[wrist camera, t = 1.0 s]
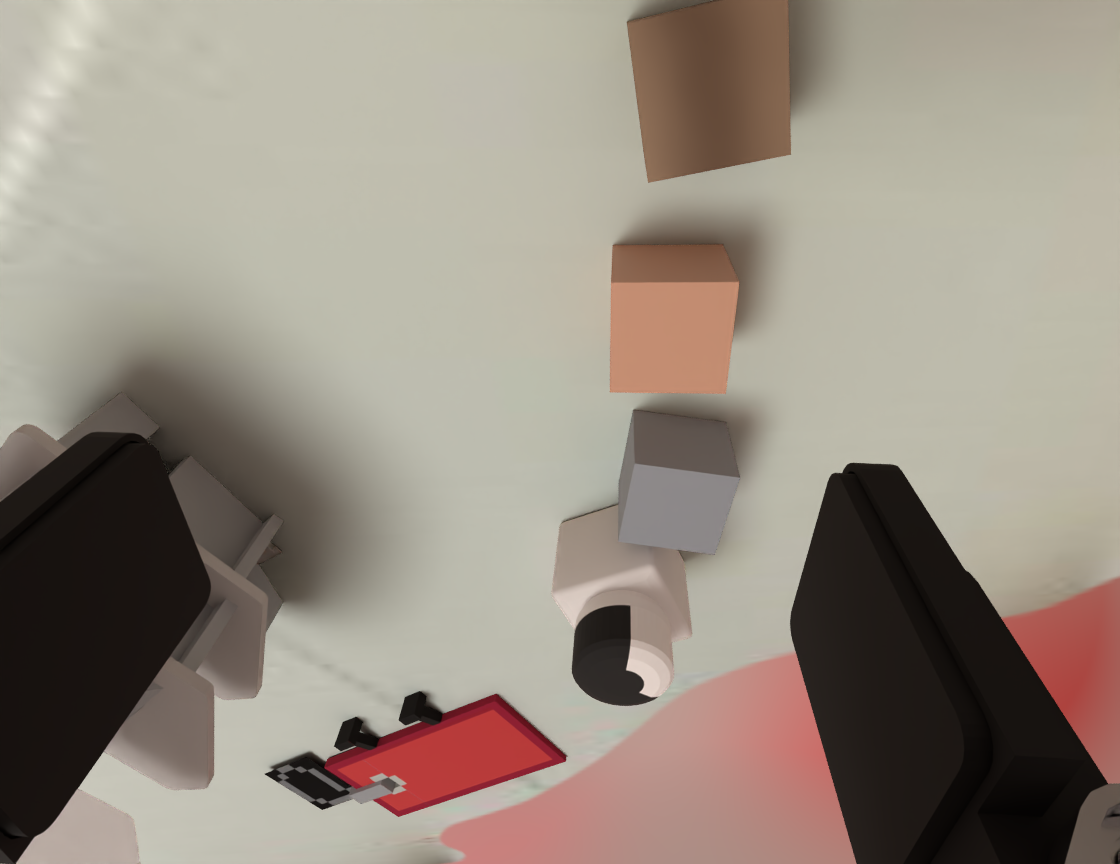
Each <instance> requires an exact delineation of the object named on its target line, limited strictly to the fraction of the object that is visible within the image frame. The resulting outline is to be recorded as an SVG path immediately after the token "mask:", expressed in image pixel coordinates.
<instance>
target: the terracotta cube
mask: <svg viewBox="0 0 1120 864" xmlns="http://www.w3.org/2000/svg"><path fill="white" fill-rule="evenodd" d="M738 289H739V280H738V278H737V276H736V273H735V271H734V269H733V266H732V264H731V262H730V260H729V257H728V255H727V253H726V250H725V248H724V246H723V244H704V245H613V250H612V275H611V344H610V392H632V393H718V394H726V387H727V378H728V370H729V362H730V354H731V346H732V338H733V330H734V322H735V314H736V306H737V297H738Z"/></svg>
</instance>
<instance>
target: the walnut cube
mask: <svg viewBox="0 0 1120 864" xmlns="http://www.w3.org/2000/svg"><path fill="white" fill-rule="evenodd" d="M627 27H628V35H629V43H630V50H631V58H632V66H633V73H634V81H635V89H636V97H637V104H638V112H639V120H640V127H641V135H642V143H643V151H644V158H645V165H646V171H647V178H648V183H649V182H654V181H659V180H664V179H669V178H674V177H679V176H684V175H689V174H695V173H700V172H705V171H710V170H715V169H720V168H725V167H730V166H735V165H740V164H745V163H750V162H755V161H760V160H765V159H770V158H775V157H781V156H786V155H791V135H790V77H789V18H788V0H714V1H710V2H706V3H702V4H698V5H694V6H690V7H685V8H681V9H677V10H673V11H669V12H665V13H661V14H657V15H653V16H648V17H644V18H640V19H636V20H632V21H628V22H627Z"/></svg>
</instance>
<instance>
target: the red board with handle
mask: <svg viewBox="0 0 1120 864" xmlns="http://www.w3.org/2000/svg"><path fill="white" fill-rule="evenodd" d="M426 697H427V696H425V695H424V694H423V693H422V692H420V691H419V692H416V693H414V694H412V695H409V696H407V697H405V700H404V703H403V707H402V710H401V713H400V717H399V721H400V722H402V723H403V724H404V725H408V724H411V723H413V722H416V721H418V720H419V721H422V722H420V723H418V724H415V725H412V726H410V727H407V728H404V729H402V730H399V731H397V732H394V733H392V734H389V735H387V736H384V737H382V738H376V737H373V736H370V735H367V734H364V733H361V732H360V729H361V726H362V723H363V722H362V721H361V720H360V719H358V718H357V717H354V718H352V719H350V720H347V721H345V722H343V723H342V726H341V729H340V731H339V734H338V737H337V740H336V742H335V745H334V747H336V748H337V749H339V750H340V751H343V750H345V749H348V748H350V747H353V746H357V747H356V748H354V749H351V750H349V751H346V752H344V753H341V754H339V755H336V756H334V757H331V758H329V759H327V761H326V764H325V767H324V768H325V769H327V770H328V771H330V772H331V773H333V774H334V775H336V776H337V777H339V778H340V779H342V780H343V781H345V782H346V783H348V784H349V785H351V786H352V787H351V786H349V785H348V784H346V783H345V782H343V781H342V780H340V779H339V778H337V777H336V776H334V775H333V774H331V773H330V772H328V771H327V770H325V769H324V768H322V767H320V766H319V765H317V764H316V763H314V762H313V761H311V760H310V759H308V758H307V757H305V758H303V759H300V760H298V761H295V762H293V763H290V764H288V765H285V766H283V767H281V768H278V769H276V770H273V771H271V772H268V773H266V774H265V775H267V776H268V777H270V778H272V779H273V780H275V781H276V782H278V783H280V784H281V785H283V786H285V787H286V788H288V789H289V790H291V791H293V792H294V793H296V794H297V795H299V796H301V797H302V798H304V799H306V800H307V801H309V802H310V803H312V804H314V805H315V806H317V807H318V808H320V809H322V810H323V809H326V808H329V807H332V806H335V805H337V804H340V803H343V802H346V801H349V800H351V799H354V800H356V801H357V802H359V803H360V804H362V803H365V802H368V801H371V800H374V801H375V802H377V803H378V804H380V805H381V806H383V807H384V808H386V809H387V810H389V811H390V812H392V813H393V814H395V815H396V816H398V817H400V816H403V815H406V814H409V813H412V812H415V811H418V810H421V809H424V808H427V807H430V806H433V805H436V804H439V803H442V802H445V801H448V800H451V799H454V798H457V797H460V796H463V795H466V794H469V793H472V792H475V791H478V790H481V789H484V788H487V787H490V786H493V785H496V784H499V783H502V782H505V781H508V780H511V779H514V778H517V777H520V776H523V775H526V774H529V773H532V772H535V771H538V770H541V769H544V768H547V767H550V766H553V765H556V764H559V763H562V762H565V761H566V755H564V754H563V753H562V752H561V751H560V750H559V749H558V748H557V747H555V746H554V745H553V744H552V743H551V742H550V741H549V740H548V739H546V738H545V737H544V736H543V735H542V734H541V733H540V732H539V731H537V730H536V729H535V728H534V727H533V726H532V725H531V724H530V723H528V722H527V721H526V720H525V719H524V718H523V717H522V716H521V715H519V714H518V713H517V712H516V711H515V710H514V709H513V708H512V707H510V706H509V705H508V704H507V703H506V702H505V701H504V700H503V699H502V698H500V697H499V696H498V695H497V694H494V695H492V696H489V697H486V698H484V699H481V700H478V701H476V702H473V703H470V704H468V705H465V706H463V707H460V708H457V709H455V710H452V711H449V712H447V713H444V714H442V713H440V712H438V711H436V710H433V709H431V708H428V707H425V706H424V705H425V701H426Z"/></svg>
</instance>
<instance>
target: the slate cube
mask: <svg viewBox="0 0 1120 864" xmlns="http://www.w3.org/2000/svg"><path fill="white" fill-rule="evenodd" d="M739 480H740V475H739V471H738V467H737V463H736V459H735V455H734V451H733V448H732V444H731V440H730V436H729V432H728V428H727V424H726V422H721V421H713V420H706V419H698V418H691V417H683V416H676V415H668V414H661V413H653V412H646V411H639V410H633V413H632V418H631V423H630V428H629V433H628V438H627V443H626V449H625V454H624V459H623V464H622V469H621V474H620V479H619V494H618V542H624V543H631V544H639V545H646V546H653V547H661V548H668V549H675V550H683V551H690V552H697V553H705V554H712V555H715V553H716V550H717V547H718V544H719V541H720V538H721V535H722V532H723V529H724V525H725V522H726V519H727V516H728V513H729V510H730V507H731V504H732V501H733V498H734V495H735V492H736V489H737V486H738V483H739Z"/></svg>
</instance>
